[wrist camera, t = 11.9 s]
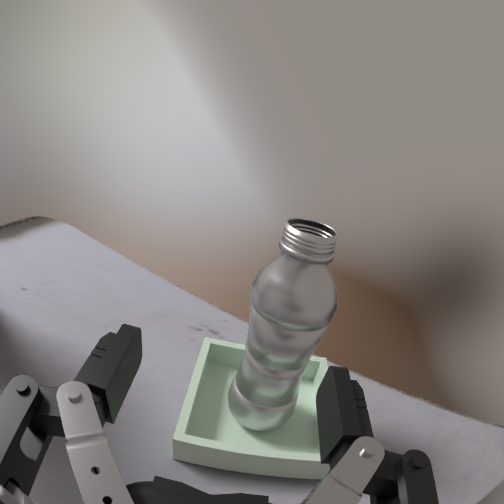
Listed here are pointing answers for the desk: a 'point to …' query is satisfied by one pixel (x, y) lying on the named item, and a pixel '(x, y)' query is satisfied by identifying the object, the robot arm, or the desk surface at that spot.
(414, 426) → the desk surface
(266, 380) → the plastic bottle
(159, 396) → the desk surface
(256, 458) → the green tray
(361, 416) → the robot arm
